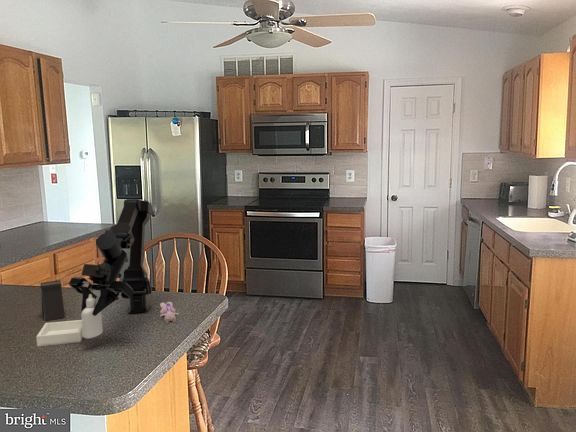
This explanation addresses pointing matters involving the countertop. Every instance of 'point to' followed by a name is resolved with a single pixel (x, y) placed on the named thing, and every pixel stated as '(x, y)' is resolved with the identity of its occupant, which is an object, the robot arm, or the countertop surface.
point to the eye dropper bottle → (91, 320)
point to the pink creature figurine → (168, 312)
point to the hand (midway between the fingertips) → (88, 314)
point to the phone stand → (52, 300)
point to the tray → (60, 333)
